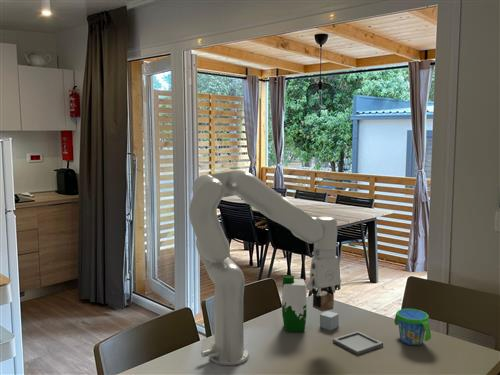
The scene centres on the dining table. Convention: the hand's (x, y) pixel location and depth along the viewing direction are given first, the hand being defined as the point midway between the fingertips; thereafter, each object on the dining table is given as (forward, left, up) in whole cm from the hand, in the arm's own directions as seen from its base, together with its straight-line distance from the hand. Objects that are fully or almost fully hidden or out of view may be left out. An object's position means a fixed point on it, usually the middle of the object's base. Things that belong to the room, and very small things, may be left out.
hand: (323, 304), depth 167 cm
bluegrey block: (+11, +10, -14) cm, 21 cm away
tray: (+9, -7, -14) cm, 18 cm away
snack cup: (+26, -16, -14) cm, 34 cm away
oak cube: (0, 0, -1) cm, 1 cm away
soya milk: (-1, +16, -14) cm, 21 cm away
